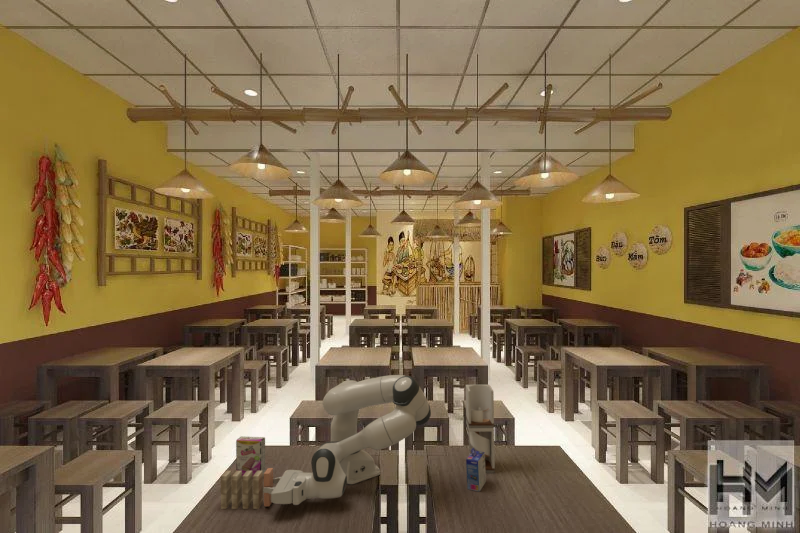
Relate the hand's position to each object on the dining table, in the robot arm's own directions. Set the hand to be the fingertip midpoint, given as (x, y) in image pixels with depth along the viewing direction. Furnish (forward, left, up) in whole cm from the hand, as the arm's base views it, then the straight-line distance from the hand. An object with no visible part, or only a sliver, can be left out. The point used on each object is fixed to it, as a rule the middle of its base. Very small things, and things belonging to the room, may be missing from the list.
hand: (266, 485), depth 178 cm
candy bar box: (0, -29, -8) cm, 30 cm away
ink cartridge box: (-78, +25, -8) cm, 82 cm away
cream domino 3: (+6, -4, -7) cm, 10 cm away
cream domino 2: (+10, -6, -7) cm, 13 cm away
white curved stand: (-90, +12, -8) cm, 91 cm away
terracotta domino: (-1, 0, -6) cm, 7 cm away
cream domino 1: (+13, -8, -7) cm, 17 cm away
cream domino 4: (+3, -2, -7) cm, 8 cm away
